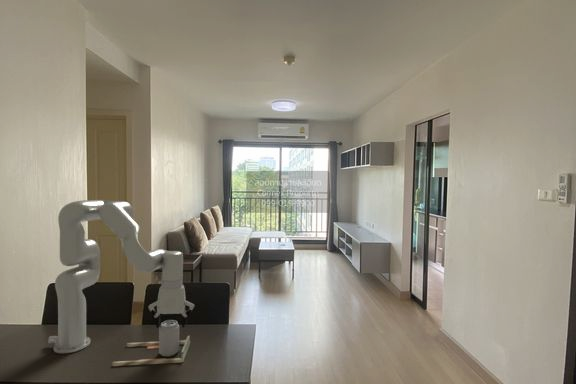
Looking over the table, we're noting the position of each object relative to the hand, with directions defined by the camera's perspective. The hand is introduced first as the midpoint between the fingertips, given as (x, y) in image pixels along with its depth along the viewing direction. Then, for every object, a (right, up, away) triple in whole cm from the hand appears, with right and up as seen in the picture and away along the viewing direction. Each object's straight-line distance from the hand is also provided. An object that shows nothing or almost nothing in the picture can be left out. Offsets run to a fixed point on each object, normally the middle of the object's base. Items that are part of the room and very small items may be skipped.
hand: (171, 326), depth 128 cm
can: (-1, -11, 0) cm, 11 cm away
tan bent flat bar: (-7, -11, -1) cm, 12 cm away
